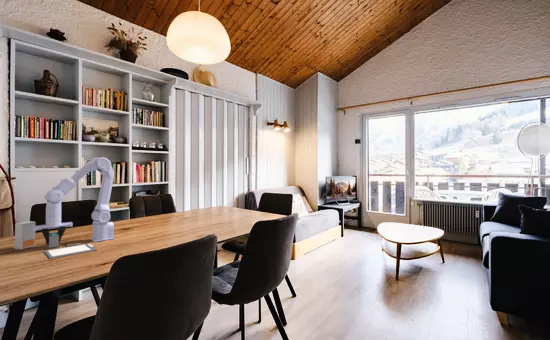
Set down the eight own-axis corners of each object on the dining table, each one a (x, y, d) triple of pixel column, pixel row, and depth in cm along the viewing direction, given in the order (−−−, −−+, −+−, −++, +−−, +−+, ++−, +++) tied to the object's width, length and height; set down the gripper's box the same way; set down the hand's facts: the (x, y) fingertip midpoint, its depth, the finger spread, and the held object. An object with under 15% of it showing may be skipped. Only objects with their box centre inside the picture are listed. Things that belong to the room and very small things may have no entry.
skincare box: (21, 249, 124) (21, 223, 124) (14, 249, 125) (14, 223, 125) (35, 246, 130) (36, 221, 130) (28, 245, 131) (29, 220, 131)
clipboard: (88, 244, 135) (88, 242, 135) (96, 250, 125) (96, 248, 125) (44, 251, 122) (44, 249, 122) (50, 259, 113) (50, 256, 113)
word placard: (80, 242, 137) (80, 242, 137) (82, 244, 134) (82, 243, 134) (65, 245, 132) (65, 244, 132) (67, 246, 130) (67, 246, 130)
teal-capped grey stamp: (57, 246, 131) (57, 231, 131) (58, 247, 128) (58, 233, 128) (47, 247, 128) (47, 232, 128) (49, 249, 126) (49, 234, 126)
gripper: (70, 212, 136) (69, 239, 136) (32, 215, 125) (31, 244, 125) (73, 214, 132) (73, 241, 132) (34, 218, 121) (34, 248, 121)
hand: (53, 243), depth 128 cm, fingers closed on teal-capped grey stamp, 4 cm apart
